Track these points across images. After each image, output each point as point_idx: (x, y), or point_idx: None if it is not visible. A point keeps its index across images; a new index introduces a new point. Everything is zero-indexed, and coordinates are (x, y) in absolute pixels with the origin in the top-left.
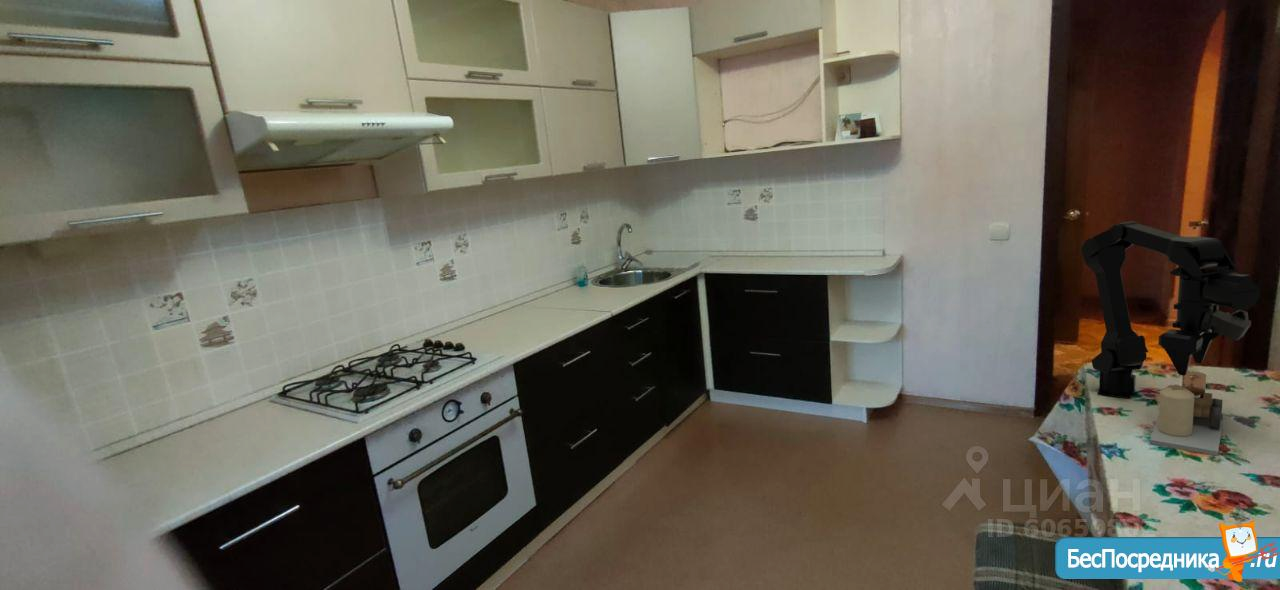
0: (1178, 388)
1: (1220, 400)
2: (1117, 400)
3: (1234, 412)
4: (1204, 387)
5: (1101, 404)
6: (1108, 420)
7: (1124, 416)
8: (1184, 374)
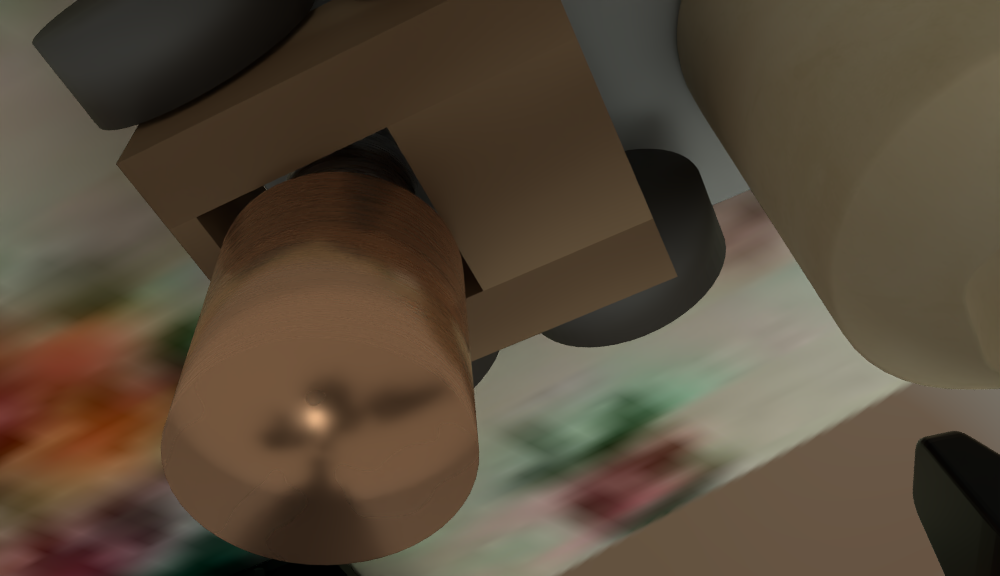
0: (986, 287)
1: (140, 25)
2: (409, 553)
3: None
4: (310, 224)
5: (558, 556)
6: (806, 400)
7: (657, 392)
8: (974, 450)
